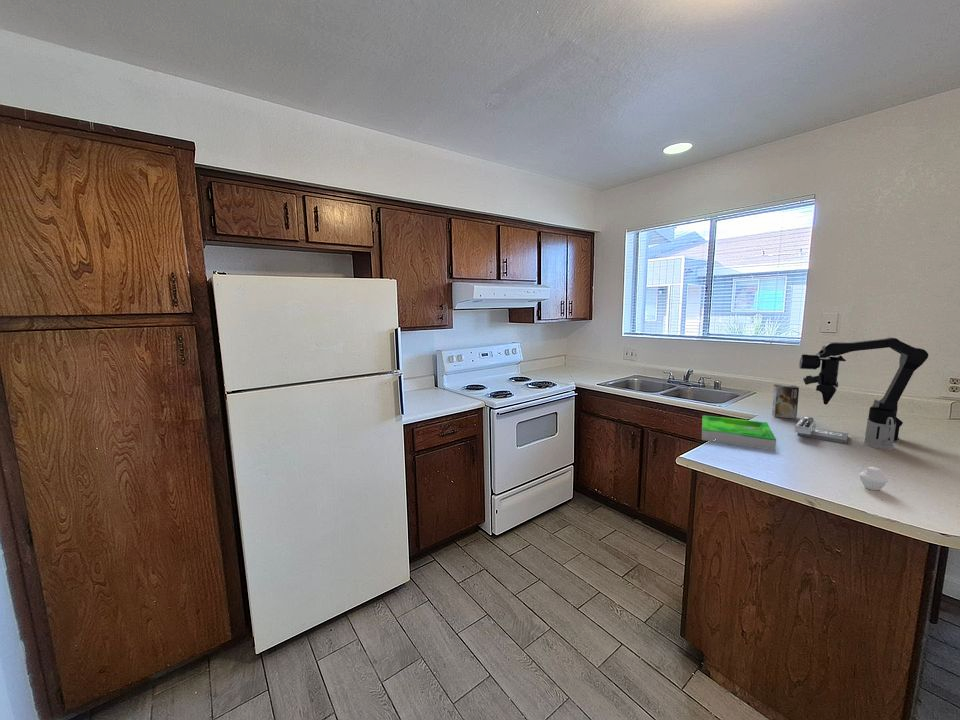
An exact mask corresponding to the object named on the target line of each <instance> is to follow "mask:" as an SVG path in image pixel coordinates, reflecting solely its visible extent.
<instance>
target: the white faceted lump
mask: <svg viewBox="0 0 960 720" xmlns="http://www.w3.org/2000/svg"><path fill="white" fill-rule="evenodd" d="M858 474H859V475H858V476H859V480H860V481H861V484H862V485H863V487H864V488H865V489H867V488H868V490H870V489H871V491H874V490H879V491H880V490H881V489H882V488H884V487H885V486H886V485H887V483H888V482H889V480H888V478H887V477H886V476H885V475H884V473H883V470H882V469H880V468H878V467H876V466H868V467H866V468H865V469H864V470H863V471H861V472H859V473H858Z"/></svg>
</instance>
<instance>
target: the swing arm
mask: <svg viewBox="0 0 960 720" xmlns="http://www.w3.org/2000/svg"><path fill="white" fill-rule="evenodd" d="M814 428H816V421H814V417H811V416H803V417H802V418H800V419H799V420H798V422H797V423H796V424H795V427H794V433H797V434H798V433H803V434H809V435H810V434H811V433H812V431H813V430H814Z"/></svg>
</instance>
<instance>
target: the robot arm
mask: <svg viewBox="0 0 960 720" xmlns="http://www.w3.org/2000/svg"><path fill="white" fill-rule="evenodd" d="M821 347H822V348H821V349H820V350H819V351H817V353H816V354H807V353H806V354H805V353H802V354H801V356H800V360H799V361H798V363H799V369H800V370H817V369H819V368H820V372H819V373H818V374H814V375H812V374H810V375H805V376H803V382H804V385H805V386H806V385H810V384H811V385H812V384H816V383H817V385H816V387H815V388H816V389H815V391H817V392H820V393H821V396H822V401H823V405H828V404H829V402H830V401H831V399H832V398H833V397H834V395H835V394H836V393H837V390H838V389H837V388H838V387H839V381H838V376H839V365H840V362H846V361H847V359H845V358H844V357H843V356H842V355H846V354H848V353H852V352H858V351H868V350H869V351H870V350H877V349H887V348H889V349H891V350H893V351H895V352H896V353H898V354H900V356H899V365H898V369H897V371H896V372H895V375H894V376H893V378H892V380H891V382H890V383H889V385H888V388H887V390H886V391H885V393H884V395H883V397H882V398H881V399H880V400H878V399H874V401H873V404H872V406H870V407H880V408H888V409H892V410H896V411H897V412H898V406H899V405H898V404H899V400H900V398H901V397H902V395H903V393H904V391H905V389H906V388H907V385H908V384H909V381H910V380H911V378H912V376H913V375H914V372H915V371H916V370H918V369H919V368H920V367H921V366H922V365H924V363H925V362H926V361H927V359H928V358H929V353H928V351H926V350H925V349H923V348H920V347H914V346H912V345H910V344H907V343H906V342H903V341H902V340H899V339H898V338H895V337H886V338H879V339H878V338H877V339H869V340H860V341H853V342H846V341H845V342H842V341H840V342H839V341H828V342H824V344H823V345H822V346H821ZM903 424H904V422H903V421H902V420H901V419H900V418H898V417H897V416H896V427H895V434H894V441H897V442H898V441H899V434H900V433H899V432H900V427H902V425H903Z"/></svg>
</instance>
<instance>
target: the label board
mask: <svg viewBox="0 0 960 720" xmlns="http://www.w3.org/2000/svg"><path fill="white" fill-rule="evenodd" d="M797 436H801V437H807V438H812V439H818V440H823V441H828V442H833V443H834V442H835V443H840V444H846V445H847V443H848V438H849V433H848V432H843V431H842V432H841V431H835V430H830V429H823V428H817V427H815V428H814V430H813V431H812V433H811V434H810V435H809V434H803V433H798V432H797Z"/></svg>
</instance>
